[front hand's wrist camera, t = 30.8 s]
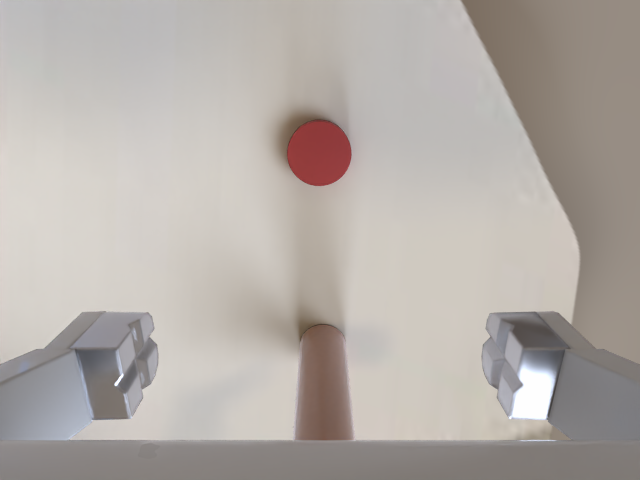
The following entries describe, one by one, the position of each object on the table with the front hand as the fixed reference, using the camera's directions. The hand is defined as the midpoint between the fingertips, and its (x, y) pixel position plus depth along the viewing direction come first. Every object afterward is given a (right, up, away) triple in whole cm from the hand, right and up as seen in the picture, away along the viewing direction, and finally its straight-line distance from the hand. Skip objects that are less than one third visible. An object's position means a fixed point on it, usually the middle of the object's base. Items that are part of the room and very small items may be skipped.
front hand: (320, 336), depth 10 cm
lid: (0, +9, +24) cm, 26 cm away
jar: (0, -8, +32) cm, 33 cm away
